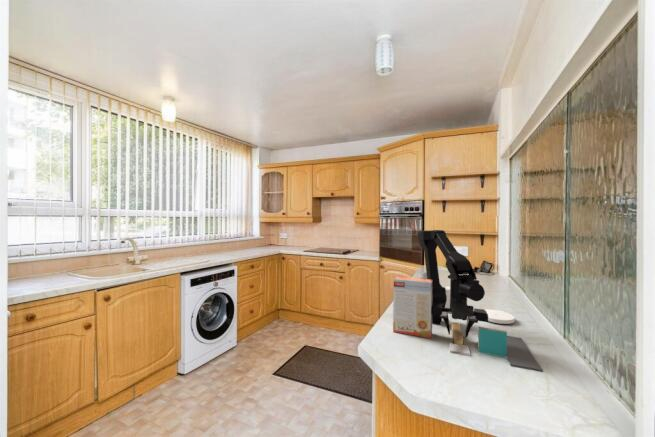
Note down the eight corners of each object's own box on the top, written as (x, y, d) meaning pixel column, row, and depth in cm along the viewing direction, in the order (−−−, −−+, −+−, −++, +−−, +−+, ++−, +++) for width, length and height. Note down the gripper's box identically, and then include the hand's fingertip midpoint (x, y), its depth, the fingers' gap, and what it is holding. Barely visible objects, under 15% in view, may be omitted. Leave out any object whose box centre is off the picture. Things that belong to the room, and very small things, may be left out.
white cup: (445, 311, 137) (445, 290, 137) (432, 306, 144) (432, 286, 144) (456, 309, 140) (456, 288, 140) (443, 304, 147) (443, 285, 147)
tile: (478, 352, 96) (479, 328, 96) (478, 350, 97) (478, 326, 97) (506, 356, 93) (507, 332, 93) (505, 354, 94) (505, 330, 94)
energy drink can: (419, 298, 157) (419, 271, 157) (430, 300, 154) (431, 272, 154) (416, 301, 152) (417, 273, 152) (428, 303, 149) (429, 274, 149)
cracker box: (432, 333, 111) (433, 279, 111) (430, 339, 105) (431, 282, 105) (395, 326, 117) (396, 275, 117) (392, 332, 111) (393, 278, 111)
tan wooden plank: (450, 353, 95) (450, 344, 95) (446, 328, 116) (447, 321, 116) (470, 356, 93) (470, 347, 93) (463, 330, 114) (463, 323, 114)
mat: (510, 365, 87) (510, 364, 87) (496, 335, 109) (496, 334, 109) (542, 371, 84) (542, 369, 84) (520, 339, 107) (521, 337, 107)
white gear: (478, 312, 137) (478, 307, 137) (513, 318, 129) (513, 312, 129) (476, 321, 125) (476, 316, 125) (515, 328, 117) (515, 322, 117)
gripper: (430, 295, 101) (430, 339, 101) (491, 302, 94) (490, 349, 94) (431, 288, 111) (430, 328, 112) (486, 293, 105) (485, 336, 105)
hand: (457, 335), depth 105 cm, fingers open, 5 cm apart
